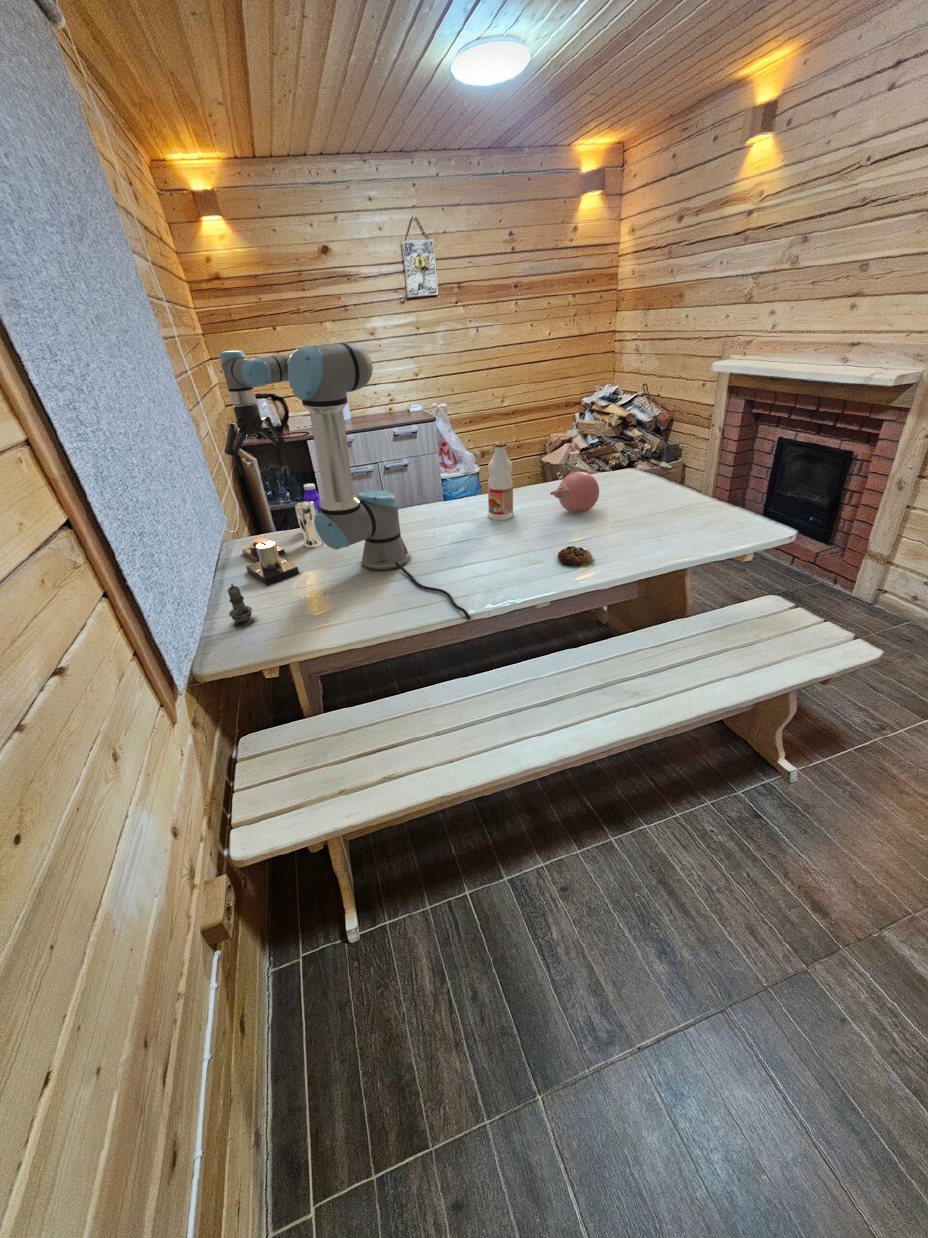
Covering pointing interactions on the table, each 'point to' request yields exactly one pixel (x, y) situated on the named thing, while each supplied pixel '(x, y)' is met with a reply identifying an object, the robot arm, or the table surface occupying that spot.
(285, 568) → the timer panel
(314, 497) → the bottle
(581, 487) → the balloon
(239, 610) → the grey ringed upright piece
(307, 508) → the beer glass
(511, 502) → the fruit juice
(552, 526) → the table surface
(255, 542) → the button
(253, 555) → the box
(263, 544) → the timer dial
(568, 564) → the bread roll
